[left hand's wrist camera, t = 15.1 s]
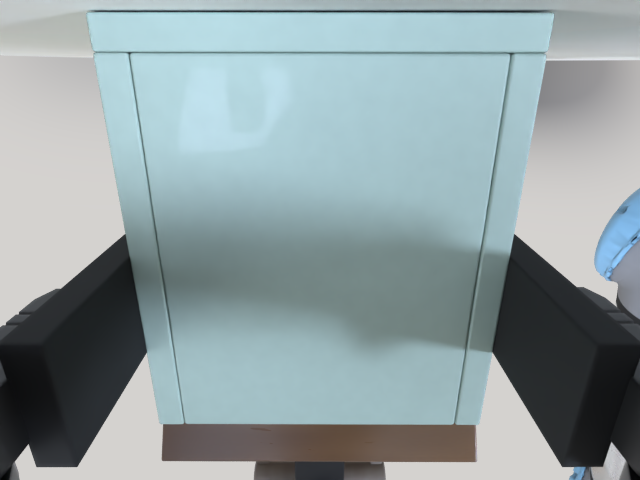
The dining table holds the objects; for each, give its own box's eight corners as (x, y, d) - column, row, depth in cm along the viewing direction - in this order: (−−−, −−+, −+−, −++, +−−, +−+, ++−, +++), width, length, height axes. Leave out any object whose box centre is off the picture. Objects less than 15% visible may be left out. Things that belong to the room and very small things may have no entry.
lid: (384, 342, 30) (386, 465, 29) (255, 342, 30) (253, 465, 29) (476, 422, 12) (488, 743, 11) (162, 421, 12) (149, 742, 11)
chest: (401, 50, 24) (389, 223, 28) (240, 49, 24) (250, 223, 28) (556, 12, 8) (479, 425, 12) (84, 11, 8) (158, 425, 12)
